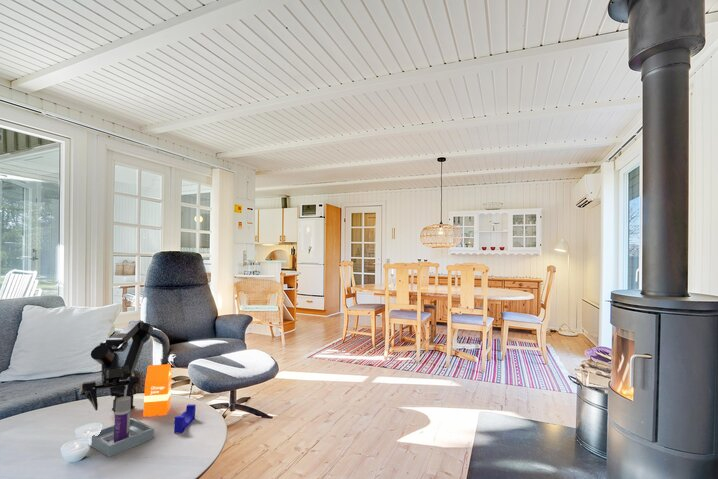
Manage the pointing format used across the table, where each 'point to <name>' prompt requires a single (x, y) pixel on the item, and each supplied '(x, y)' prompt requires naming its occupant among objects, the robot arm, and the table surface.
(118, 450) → the walled box
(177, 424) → the cable clip
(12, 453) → the table surface
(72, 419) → the table surface
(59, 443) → the table surface
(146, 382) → the orange juice
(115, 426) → the container
